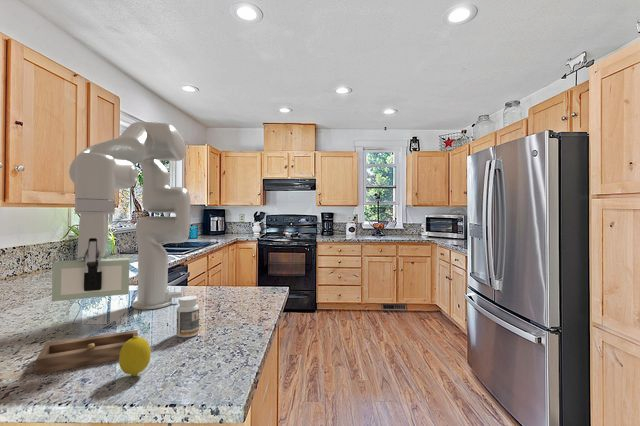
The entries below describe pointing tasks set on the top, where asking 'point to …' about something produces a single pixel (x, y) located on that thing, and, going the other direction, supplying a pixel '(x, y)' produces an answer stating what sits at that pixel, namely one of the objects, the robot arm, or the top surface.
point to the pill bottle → (187, 317)
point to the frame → (72, 279)
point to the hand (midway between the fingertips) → (93, 287)
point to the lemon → (134, 356)
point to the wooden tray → (81, 351)
